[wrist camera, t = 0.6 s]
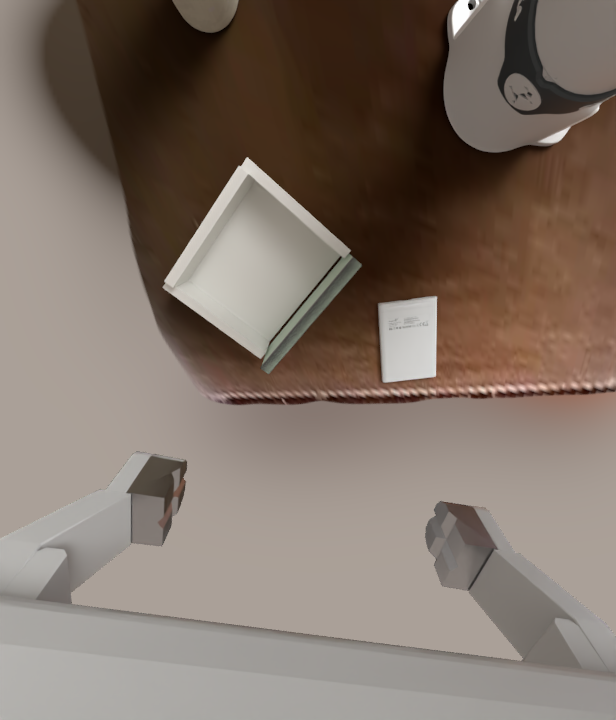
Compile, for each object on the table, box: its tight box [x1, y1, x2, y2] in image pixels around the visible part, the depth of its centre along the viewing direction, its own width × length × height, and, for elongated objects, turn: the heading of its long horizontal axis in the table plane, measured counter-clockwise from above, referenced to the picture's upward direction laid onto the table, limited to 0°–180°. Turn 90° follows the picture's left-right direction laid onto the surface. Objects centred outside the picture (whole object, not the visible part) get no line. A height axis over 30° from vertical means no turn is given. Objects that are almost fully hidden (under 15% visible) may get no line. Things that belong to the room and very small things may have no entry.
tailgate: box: [261, 254, 362, 374], centre depth 43 cm, size 17×1×8 cm, turn 141°
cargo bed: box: [163, 157, 351, 359], centre depth 42 cm, size 18×15×7 cm
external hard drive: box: [378, 296, 437, 383], centre depth 50 cm, size 2×8×12 cm
